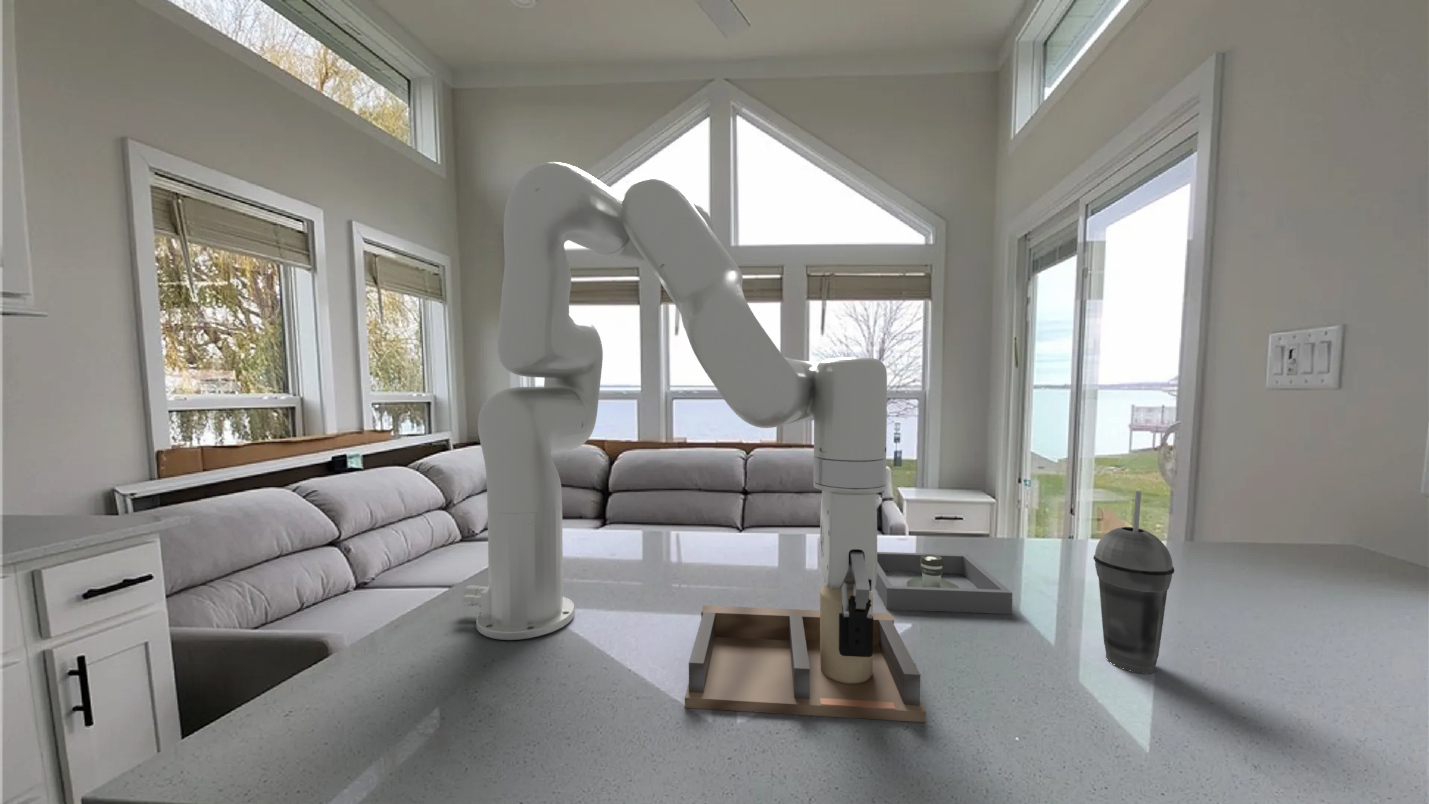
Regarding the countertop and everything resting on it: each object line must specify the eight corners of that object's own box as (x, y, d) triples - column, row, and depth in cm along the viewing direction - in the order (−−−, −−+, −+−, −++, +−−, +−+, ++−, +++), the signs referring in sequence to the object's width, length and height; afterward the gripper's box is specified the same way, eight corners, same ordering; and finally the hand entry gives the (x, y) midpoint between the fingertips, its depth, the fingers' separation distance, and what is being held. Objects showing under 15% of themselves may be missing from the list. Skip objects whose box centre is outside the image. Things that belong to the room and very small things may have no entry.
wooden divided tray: (684, 707, 53) (684, 667, 53) (703, 636, 68) (703, 605, 67) (925, 722, 50) (926, 680, 50) (889, 645, 65) (890, 613, 65)
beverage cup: (1154, 653, 63) (1158, 485, 63) (1185, 685, 56) (1190, 498, 56) (1082, 643, 66) (1085, 482, 65) (1104, 673, 59) (1107, 493, 58)
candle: (874, 687, 54) (874, 590, 54) (819, 681, 55) (819, 586, 55) (871, 660, 60) (871, 571, 59) (820, 655, 61) (820, 568, 61)
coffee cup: (977, 583, 85) (978, 552, 85) (967, 609, 75) (968, 574, 75) (900, 569, 92) (900, 540, 92) (881, 592, 82) (881, 560, 82)
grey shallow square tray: (886, 609, 76) (886, 588, 76) (865, 568, 93) (865, 551, 93) (1012, 614, 74) (1012, 592, 74) (966, 571, 91) (967, 554, 91)
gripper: (807, 462, 66) (807, 599, 66) (821, 488, 49) (820, 673, 49) (869, 462, 65) (868, 601, 65) (906, 490, 48) (904, 678, 48)
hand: (848, 632), depth 57 cm, fingers open, 9 cm apart
